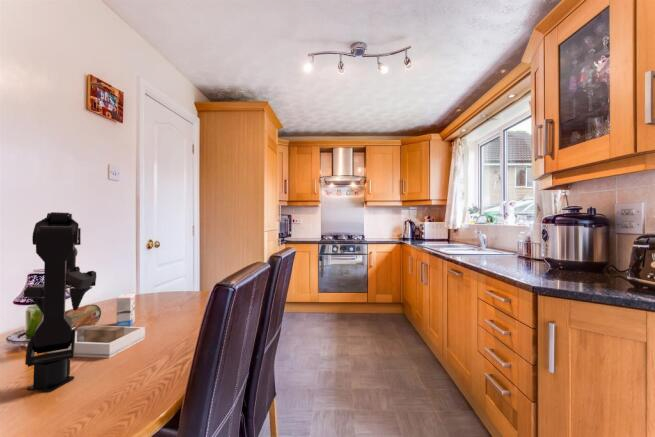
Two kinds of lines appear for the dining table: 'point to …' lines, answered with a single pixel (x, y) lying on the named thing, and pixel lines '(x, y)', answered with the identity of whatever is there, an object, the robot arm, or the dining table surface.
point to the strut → (99, 334)
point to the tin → (84, 315)
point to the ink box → (125, 310)
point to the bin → (108, 344)
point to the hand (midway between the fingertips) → (62, 314)
